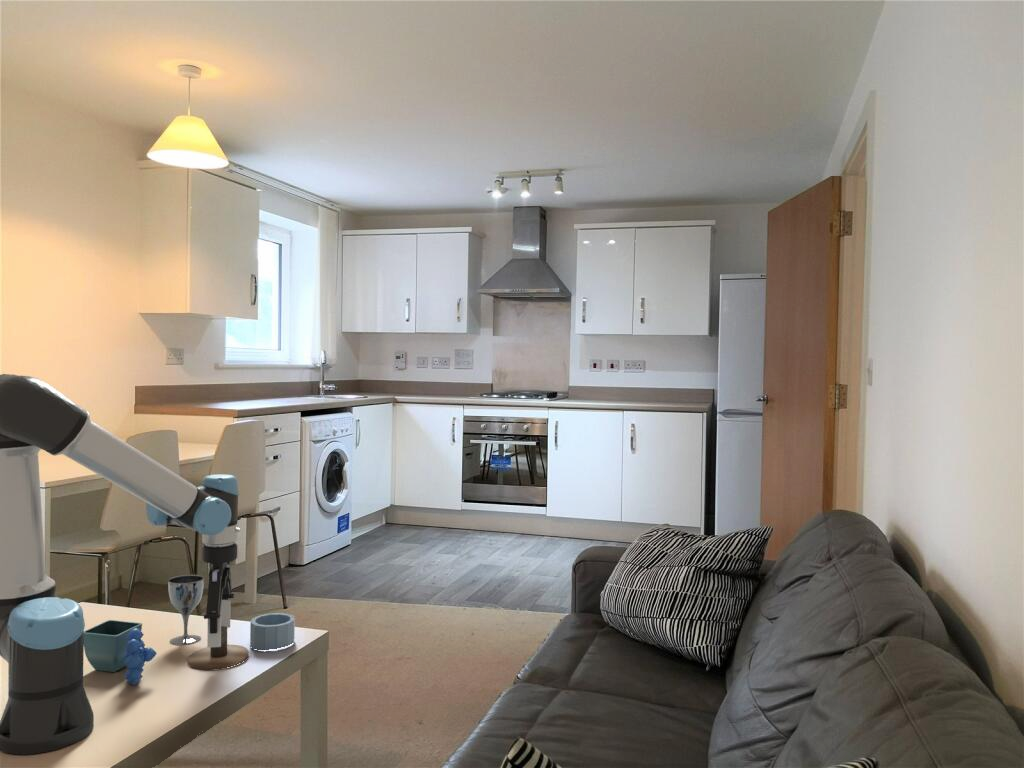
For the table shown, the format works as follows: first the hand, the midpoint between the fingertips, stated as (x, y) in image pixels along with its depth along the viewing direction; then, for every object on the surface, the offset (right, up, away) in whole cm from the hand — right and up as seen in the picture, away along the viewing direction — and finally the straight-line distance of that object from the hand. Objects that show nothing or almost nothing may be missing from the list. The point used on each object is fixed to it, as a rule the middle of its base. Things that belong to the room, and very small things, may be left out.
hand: (219, 636), depth 180 cm
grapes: (-12, -5, -14) cm, 19 cm away
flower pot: (-21, -5, -6) cm, 23 cm away
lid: (0, -5, 0) cm, 5 cm away
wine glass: (-13, -5, +12) cm, 18 cm away
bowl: (+9, -5, +10) cm, 15 cm away
